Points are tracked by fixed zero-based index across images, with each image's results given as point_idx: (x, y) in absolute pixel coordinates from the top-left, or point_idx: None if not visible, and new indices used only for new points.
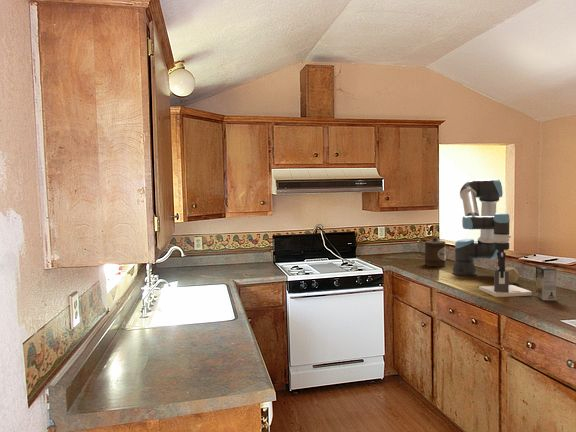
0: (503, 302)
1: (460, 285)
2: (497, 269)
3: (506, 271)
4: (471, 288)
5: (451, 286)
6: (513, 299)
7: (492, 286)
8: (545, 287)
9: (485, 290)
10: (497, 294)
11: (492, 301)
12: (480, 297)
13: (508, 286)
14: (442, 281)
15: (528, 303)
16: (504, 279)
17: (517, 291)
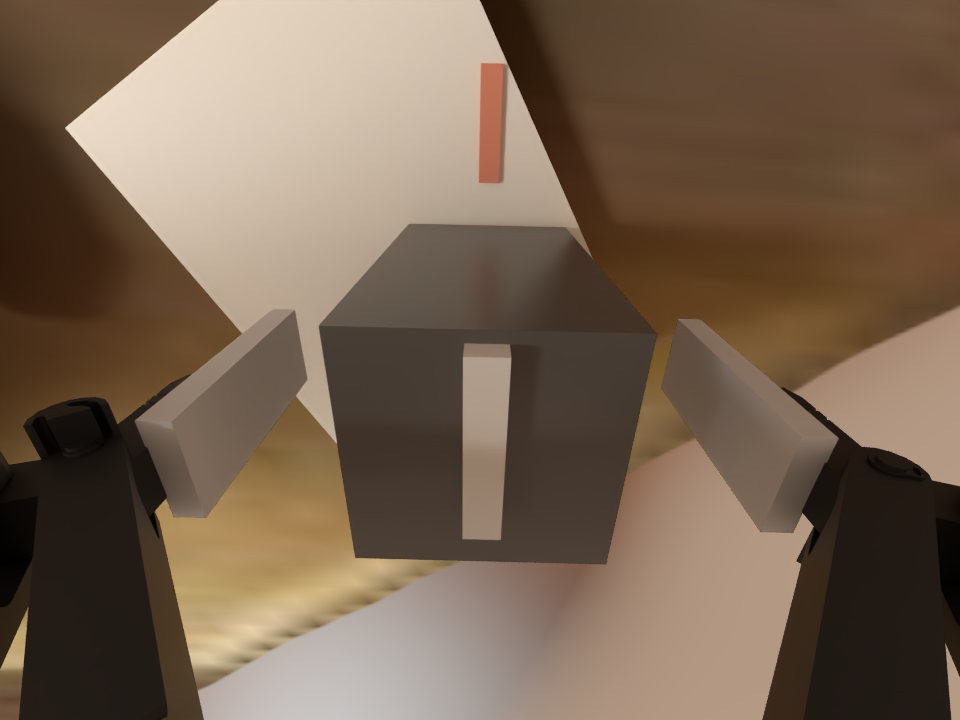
0: (835, 289)
1: (273, 563)
2: (427, 517)
3: (639, 378)
4: (344, 502)
5: (343, 607)
6: (699, 178)
7: (308, 371)
8: None
9: None
10: None
11: (797, 376)
12: (660, 453)
13: (579, 245)
14: (204, 648)
15: (889, 8)
16: (736, 355)
17: (497, 105)
